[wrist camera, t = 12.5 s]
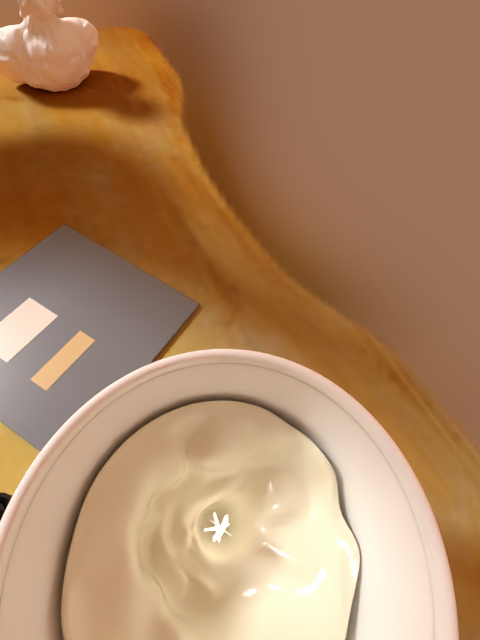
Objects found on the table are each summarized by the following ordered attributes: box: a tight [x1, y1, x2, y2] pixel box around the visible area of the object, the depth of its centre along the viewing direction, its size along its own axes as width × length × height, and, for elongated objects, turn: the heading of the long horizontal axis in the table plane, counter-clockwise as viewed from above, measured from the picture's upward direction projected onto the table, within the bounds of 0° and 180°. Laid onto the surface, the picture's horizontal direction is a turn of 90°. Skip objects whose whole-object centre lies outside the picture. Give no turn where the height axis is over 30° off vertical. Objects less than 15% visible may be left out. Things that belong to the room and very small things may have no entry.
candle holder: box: [0, 349, 459, 640], centre depth 12 cm, size 10×10×12 cm
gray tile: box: [0, 224, 199, 452], centre depth 24 cm, size 14×14×1 cm
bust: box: [0, 0, 98, 92], centre depth 36 cm, size 12×8×11 cm
